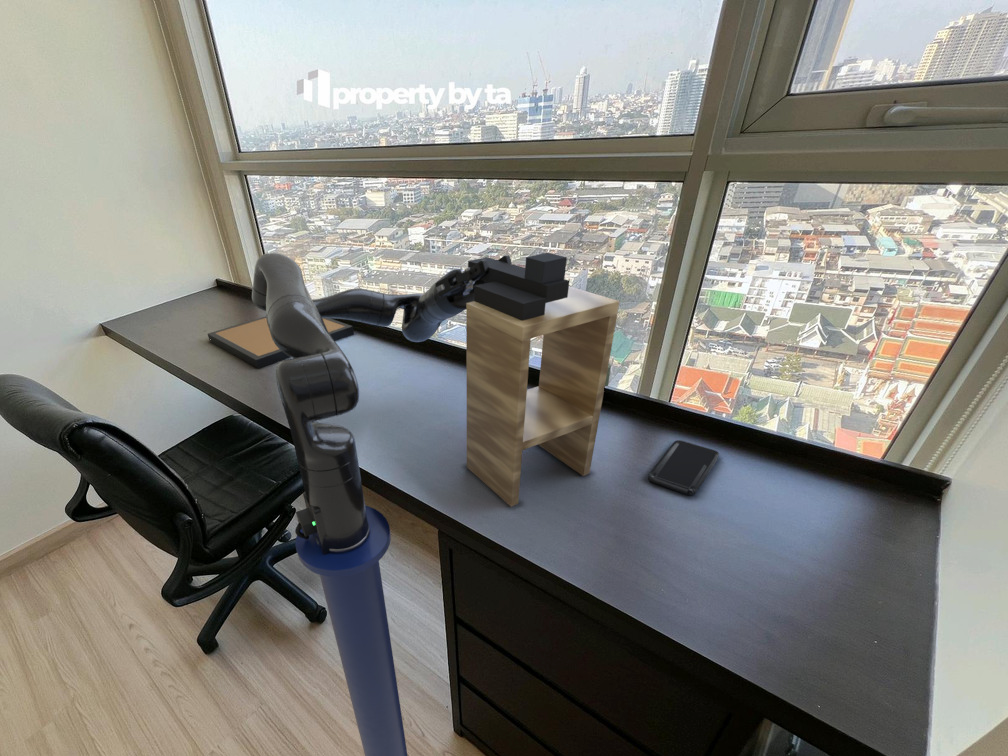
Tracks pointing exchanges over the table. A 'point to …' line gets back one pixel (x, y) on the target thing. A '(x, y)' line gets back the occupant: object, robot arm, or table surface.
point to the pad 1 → (531, 275)
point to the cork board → (264, 340)
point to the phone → (684, 467)
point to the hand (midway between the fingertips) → (497, 263)
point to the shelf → (543, 409)
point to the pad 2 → (510, 300)
